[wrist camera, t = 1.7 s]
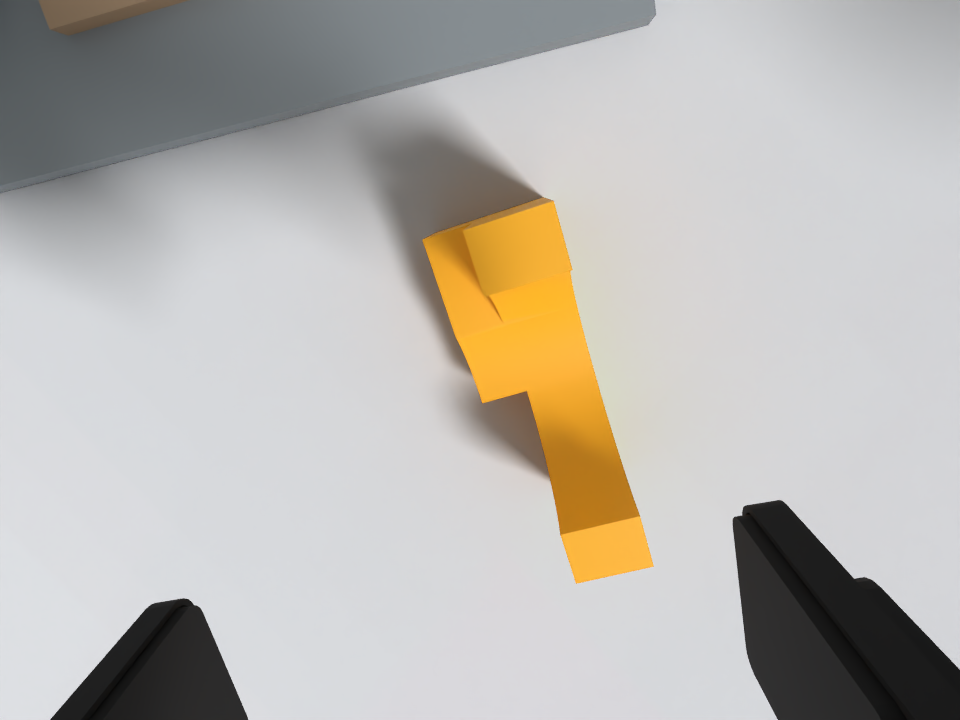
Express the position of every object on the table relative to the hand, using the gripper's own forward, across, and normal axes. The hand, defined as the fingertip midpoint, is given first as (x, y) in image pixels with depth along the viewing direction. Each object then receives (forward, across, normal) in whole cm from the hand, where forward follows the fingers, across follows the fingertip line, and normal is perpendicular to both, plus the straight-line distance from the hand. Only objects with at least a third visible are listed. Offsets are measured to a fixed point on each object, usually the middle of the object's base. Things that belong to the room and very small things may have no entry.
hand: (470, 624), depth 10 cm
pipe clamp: (+15, -2, 0) cm, 15 cm away
